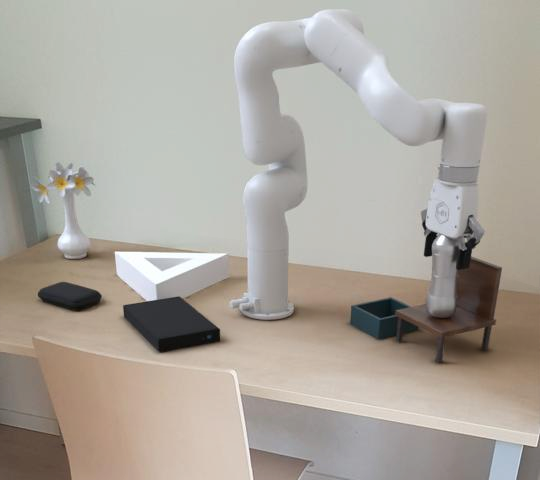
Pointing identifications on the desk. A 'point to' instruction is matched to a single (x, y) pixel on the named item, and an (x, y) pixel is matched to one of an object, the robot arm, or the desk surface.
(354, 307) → the rectangular frame
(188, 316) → the external hard drive
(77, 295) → the carrying case
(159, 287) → the triangle block
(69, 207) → the flower vase
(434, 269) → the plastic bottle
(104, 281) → the desk surface
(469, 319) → the chair
